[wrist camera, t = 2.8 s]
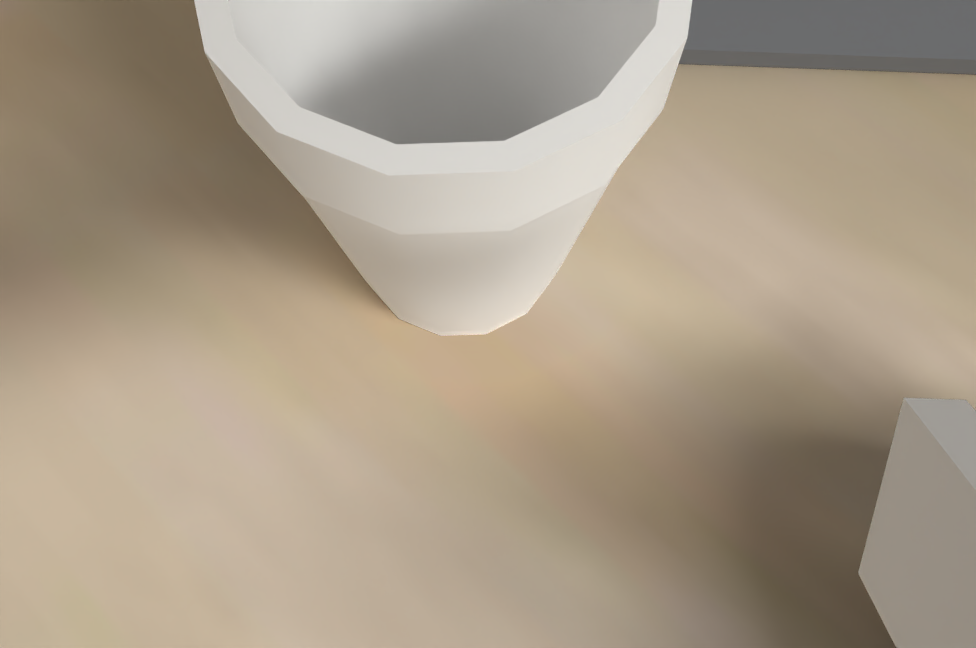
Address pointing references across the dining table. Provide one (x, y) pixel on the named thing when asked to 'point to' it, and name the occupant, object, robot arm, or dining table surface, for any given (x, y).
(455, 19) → the foam cup
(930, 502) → the robot arm
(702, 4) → the rubber mat
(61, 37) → the dining table surface
